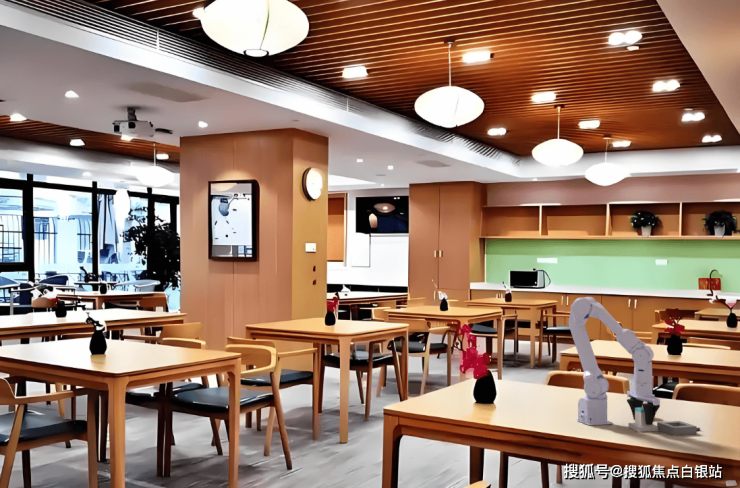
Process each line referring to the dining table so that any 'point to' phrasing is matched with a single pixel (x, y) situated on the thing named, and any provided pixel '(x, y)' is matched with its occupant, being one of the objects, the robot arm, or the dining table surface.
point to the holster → (643, 427)
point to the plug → (640, 417)
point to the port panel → (677, 428)
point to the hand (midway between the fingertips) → (643, 422)
